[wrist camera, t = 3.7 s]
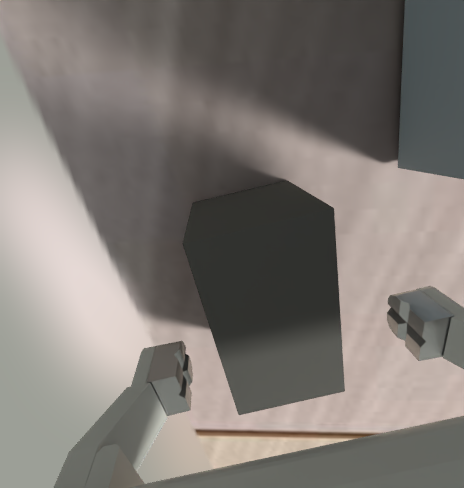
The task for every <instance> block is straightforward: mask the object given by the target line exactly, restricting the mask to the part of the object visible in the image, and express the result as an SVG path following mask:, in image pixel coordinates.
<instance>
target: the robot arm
mask: <svg viewBox="0 0 464 488" xmlns="http://www.w3.org/2000/svg"><path fill="white" fill-rule="evenodd" d="M388 304H389V305H390V306H391V309H390V310H389V311H388V312H387V321H388V324H389V327H390V329H391V330H392V332H393V333H394V334H395V335H396V336H397V337H398V338H400V339H402V340H405V347H406V348H407V349H408V350H409V351H410V352H411V353H412V354H413V355H414V356H415V357H416V359H417V360H418V361H421V360H427V359H432V358H437V357H443V358H444V359H446V360H448V361H450V362H452V363H454V364H455V365H457V366H459V367H461V368H463V369H464V308H463V307H462V306H460V305H459V304H457V303H456V302H454V301H453V300H452V299H450V298H449V297H447V296H446V295H444V294H443V293H442V292H440V291H439V290H437V289H436V288H434V287H431V286H428V287H424V288H419V289H416V290H411V291H407V292H402V293H398V294H394V295H390V297H389V298H388ZM185 351H186V347H185V345H184V342H183V341H178V342H173V343H168V344H163V345H158V346H154V347H149V348H144V349H143V351H142V352H141V355H140V359H139V362H138V365H137V368H136V372H135V375H134V378H133V382H132V385H131V387H128V388H126V390H124V392H123V393H122V394H121V395H120V396H119V397H118V398H117V399H116V400H115V402H114V403H113V404H112V405H111V406H110V407H109V408H108V409H107V410H106V412H105V413H104V414H103V415H102V416H101V417H100V418H99V420H98V421H97V422H96V423H95V424H94V425H93V426H92V427H91V428H90V430H89V431H88V432H87V433H86V434H85V435H84V436H83V437H82V438H81V439H80V441H79V442H78V443H77V444H76V445H75V446H74V447H73V448H72V449H71V451H70V452H69V453H68V456H67V458H66V460H65V463H64V465H63V467H62V470H61V472H60V474H59V476H58V479H57V481H56V484H55V486H54V488H464V416H461V417H456V418H451V419H447V420H442V421H437V422H433V423H428V424H423V425H419V426H414V427H409V428H405V429H400V430H395V431H390V432H386V433H381V434H376V435H372V436H367V437H362V438H358V439H353V440H348V441H343V442H339V443H334V444H329V445H325V446H320V447H315V448H311V449H306V450H301V451H297V452H292V453H287V454H283V455H278V456H273V457H269V458H264V459H259V460H255V461H250V462H245V463H240V464H236V465H231V466H226V467H222V468H217V469H212V470H208V471H203V472H198V473H194V474H189V475H184V476H180V477H175V478H170V479H166V480H161V481H156V482H152V483H147V484H144V482H143V481H142V479H141V478H140V476H139V475H138V474H137V470H138V469H139V467H140V465H141V463H142V461H143V460H144V458H145V456H146V455H147V453H148V451H149V449H150V448H151V446H152V444H153V442H154V441H155V439H156V437H157V435H158V434H159V432H160V430H161V428H162V426H163V425H164V423H165V421H166V420H167V416H169V415H173V414H177V413H181V412H185V411H189V410H190V409H191V395H192V392H191V390H190V387H189V386H190V384H191V383H192V378H193V373H192V364H191V360H190V357H189V356H188V355H187V354H185Z"/></svg>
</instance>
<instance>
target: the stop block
mask: <svg viewBox="0 0 464 488" xmlns="http://www.w3.org/2000/svg"><path fill="white" fill-rule="evenodd" d="M183 246H184V249H185V252H186V255H187V258H188V261H189V265H190V268H191V271H192V274H193V277H194V280H195V283H196V286H197V289H198V292H199V295H200V298H201V301H202V304H203V307H204V310H205V313H206V316H207V320H208V323H209V326H210V329H211V332H212V335H213V338H214V341H215V344H216V347H217V350H218V353H219V356H220V359H221V362H222V365H223V368H224V371H225V375H226V378H227V381H228V384H229V387H230V390H231V393H232V396H233V399H234V402H235V405H236V408H237V411H238V414H239V415H242V414H246V413H251V412H255V411H259V410H264V409H268V408H273V407H277V406H282V405H286V404H290V403H295V402H299V401H304V400H308V399H313V398H317V397H321V396H326V395H330V394H335V393H339V392H343V391H345V389H344V372H343V355H342V338H341V321H340V304H339V288H338V271H337V254H336V237H335V220H334V208H333V207H331V206H329V205H328V204H326V203H324V202H323V201H321V200H319V199H317V198H316V197H314V196H312V195H311V194H309V193H307V192H306V191H304V190H302V189H301V188H299V187H297V186H296V185H294V184H292V183H291V182H289V181H283V182H278V183H274V184H270V185H266V186H262V187H258V188H253V189H249V190H245V191H241V192H237V193H232V194H228V195H224V196H220V197H216V198H211V199H207V200H203V201H199V202H195V203H193V204H192V208H191V212H190V216H189V220H188V224H187V228H186V233H185V237H184V241H183Z"/></svg>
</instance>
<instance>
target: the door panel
mask: <svg viewBox="0 0 464 488" xmlns="http://www.w3.org/2000/svg"><path fill="white" fill-rule="evenodd" d="M398 168H402V169H408V170H414V171H419V172H425V173H431V174H437V175H442V176H448V177H454V178H460V179H464V0H405V12H404V36H403V60H402V83H401V107H400V130H399V154H398Z"/></svg>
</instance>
